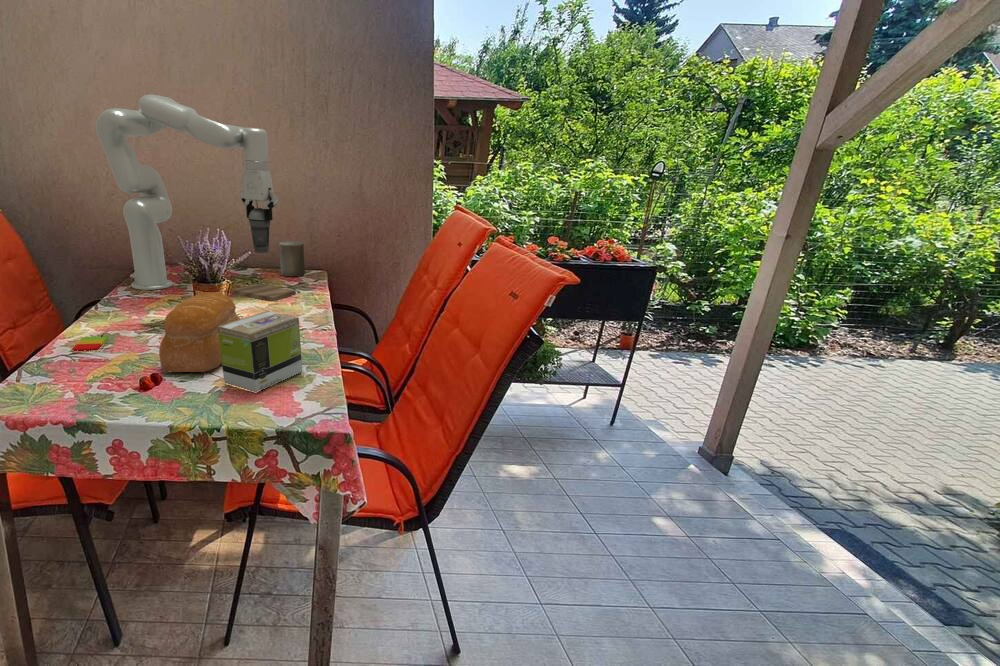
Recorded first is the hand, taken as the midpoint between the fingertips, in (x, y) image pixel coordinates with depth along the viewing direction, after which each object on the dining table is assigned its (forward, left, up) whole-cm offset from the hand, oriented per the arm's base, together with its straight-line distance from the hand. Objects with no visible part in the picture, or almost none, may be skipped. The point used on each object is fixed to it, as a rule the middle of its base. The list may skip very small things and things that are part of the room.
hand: (259, 218), depth 187 cm
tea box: (+53, -59, -28) cm, 84 cm away
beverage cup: (0, 0, -12) cm, 12 cm away
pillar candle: (-13, +31, -28) cm, 44 cm away
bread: (+30, -54, -28) cm, 68 cm away
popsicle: (+1, -62, -28) cm, 68 cm away
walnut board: (0, 0, -28) cm, 28 cm away
